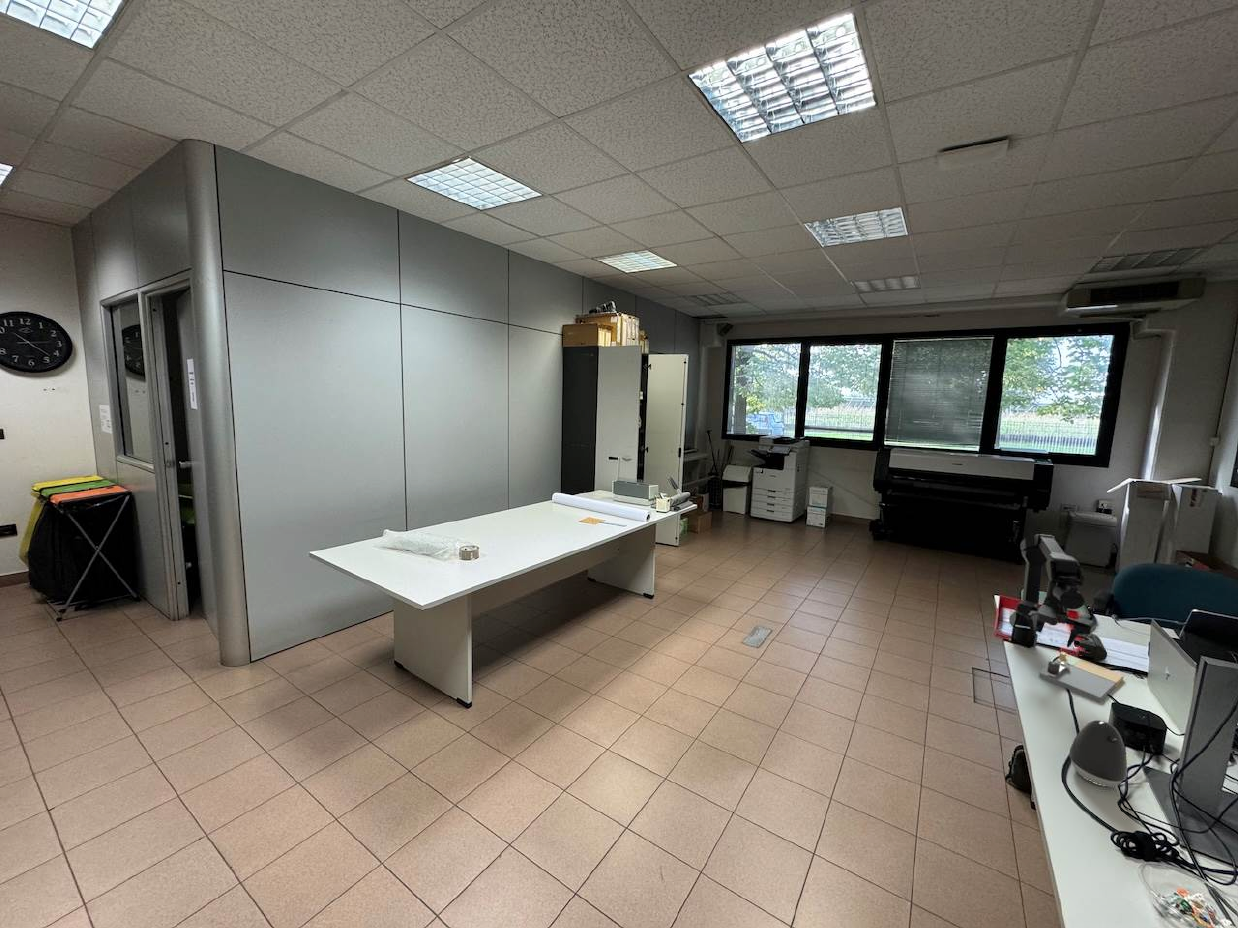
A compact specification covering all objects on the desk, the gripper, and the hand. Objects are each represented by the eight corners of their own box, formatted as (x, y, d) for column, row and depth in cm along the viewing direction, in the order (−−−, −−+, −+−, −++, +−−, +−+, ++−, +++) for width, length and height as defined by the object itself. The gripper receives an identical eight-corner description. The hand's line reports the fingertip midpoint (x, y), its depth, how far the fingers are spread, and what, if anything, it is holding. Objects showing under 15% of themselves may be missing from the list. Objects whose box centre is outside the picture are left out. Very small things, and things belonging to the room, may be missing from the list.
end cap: (1105, 665, 170) (1109, 647, 169) (1077, 659, 174) (1081, 641, 173) (1098, 652, 178) (1102, 635, 177) (1072, 646, 182) (1075, 629, 181)
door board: (1038, 676, 163) (1040, 666, 163) (1064, 657, 175) (1066, 648, 174) (1099, 702, 151) (1101, 691, 150) (1122, 679, 162) (1125, 669, 161)
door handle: (1058, 663, 168) (1060, 652, 167) (1071, 667, 165) (1073, 656, 164) (1044, 674, 162) (1046, 662, 161) (1056, 679, 159) (1058, 667, 158)
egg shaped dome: (1079, 788, 119) (1090, 732, 116) (1058, 757, 129) (1068, 705, 126) (1134, 800, 116) (1146, 743, 113) (1108, 767, 125) (1119, 714, 123)
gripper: (1012, 590, 161) (1005, 634, 164) (1088, 613, 146) (1079, 662, 149) (1026, 583, 167) (1019, 625, 170) (1100, 604, 152) (1091, 651, 155)
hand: (1050, 640), depth 161 cm, fingers open, 9 cm apart
